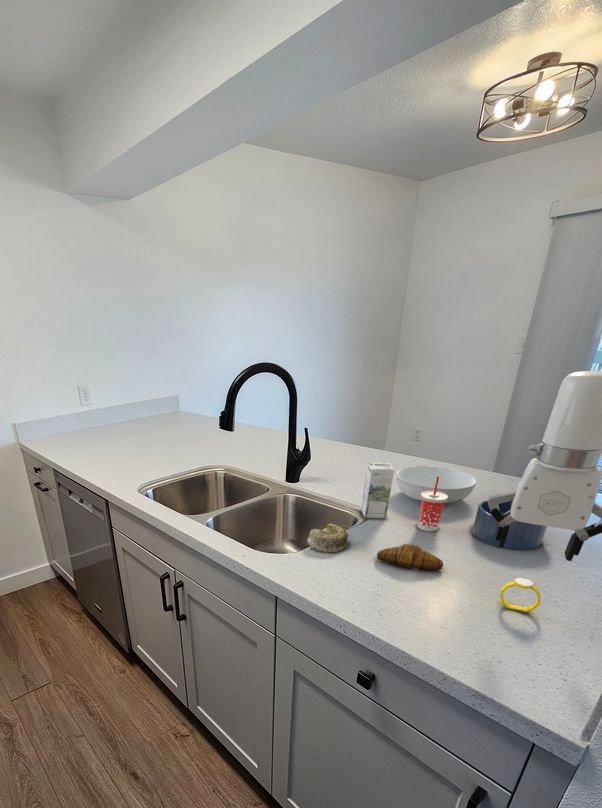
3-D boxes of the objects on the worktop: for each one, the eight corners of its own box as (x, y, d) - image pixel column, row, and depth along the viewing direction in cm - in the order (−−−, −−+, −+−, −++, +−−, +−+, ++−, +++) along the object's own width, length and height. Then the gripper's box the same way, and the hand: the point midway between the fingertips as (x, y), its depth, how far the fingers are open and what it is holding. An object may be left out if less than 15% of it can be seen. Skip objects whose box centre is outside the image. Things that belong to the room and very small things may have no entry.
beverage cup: (445, 531, 110) (457, 479, 104) (422, 533, 110) (433, 481, 104) (432, 521, 116) (443, 471, 110) (410, 523, 116) (419, 473, 109)
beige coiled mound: (356, 545, 107) (360, 526, 105) (329, 559, 103) (333, 539, 100) (324, 529, 114) (327, 511, 112) (298, 541, 109) (300, 523, 107)
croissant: (442, 562, 97) (446, 543, 95) (442, 577, 92) (447, 557, 90) (377, 552, 103) (380, 533, 101) (374, 566, 97) (377, 546, 95)
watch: (535, 609, 81) (545, 582, 78) (535, 617, 79) (545, 590, 76) (497, 600, 84) (505, 574, 81) (496, 607, 82) (505, 581, 79)
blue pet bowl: (539, 530, 108) (548, 504, 105) (542, 555, 98) (552, 527, 95) (474, 519, 116) (480, 495, 112) (470, 541, 105) (477, 515, 102)
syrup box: (382, 511, 124) (389, 461, 117) (386, 519, 118) (394, 468, 112) (361, 510, 125) (367, 461, 118) (364, 519, 119) (371, 468, 113)
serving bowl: (470, 516, 117) (476, 492, 114) (388, 505, 127) (391, 482, 124) (471, 490, 133) (477, 469, 130) (398, 482, 143) (401, 462, 140)
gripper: (501, 455, 70) (474, 548, 78) (647, 470, 61) (600, 573, 69) (502, 443, 75) (477, 532, 83) (636, 456, 67) (593, 553, 75)
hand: (533, 550), depth 76 cm, fingers open, 9 cm apart
